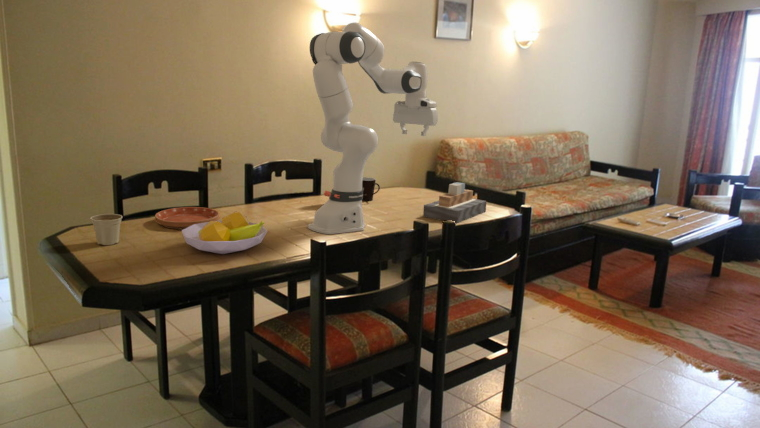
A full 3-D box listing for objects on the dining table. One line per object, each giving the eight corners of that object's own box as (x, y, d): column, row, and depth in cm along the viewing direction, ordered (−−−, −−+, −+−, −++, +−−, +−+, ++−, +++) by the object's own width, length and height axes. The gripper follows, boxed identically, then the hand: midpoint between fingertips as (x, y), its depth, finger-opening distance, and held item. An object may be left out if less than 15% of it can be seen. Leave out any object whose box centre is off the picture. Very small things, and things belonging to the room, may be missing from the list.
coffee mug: (353, 198, 269) (354, 177, 267) (370, 197, 273) (371, 177, 270) (363, 203, 259) (364, 182, 257) (380, 202, 262) (381, 181, 260)
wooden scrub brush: (449, 207, 234) (450, 197, 233) (438, 205, 237) (439, 195, 236) (472, 199, 252) (473, 190, 251) (462, 197, 254) (462, 189, 254)
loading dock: (457, 223, 230) (458, 210, 228) (423, 216, 238) (423, 204, 237) (485, 211, 252) (486, 200, 251) (453, 206, 261) (454, 195, 260)
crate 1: (456, 195, 239) (457, 185, 238) (448, 193, 241) (448, 184, 240) (461, 193, 242) (461, 184, 241) (452, 192, 244) (453, 183, 243)
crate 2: (460, 193, 242) (460, 184, 242) (451, 192, 245) (452, 183, 244) (464, 192, 246) (465, 183, 245) (456, 191, 248) (456, 182, 247)
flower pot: (115, 237, 191) (113, 212, 189) (129, 243, 185) (128, 217, 183) (87, 242, 184) (84, 216, 182) (100, 248, 178) (98, 222, 176)
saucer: (217, 230, 205) (217, 220, 204) (150, 231, 200) (150, 221, 199) (220, 215, 227) (220, 206, 226) (160, 216, 222) (159, 207, 221)
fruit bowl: (167, 245, 184) (166, 211, 181) (241, 232, 203) (240, 201, 200) (210, 267, 165) (208, 230, 162) (286, 251, 183) (286, 217, 181)
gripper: (390, 100, 241) (389, 133, 244) (432, 103, 230) (430, 137, 233) (398, 100, 246) (397, 132, 249) (440, 103, 235) (438, 136, 238)
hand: (413, 134), depth 241 cm, fingers open, 8 cm apart
